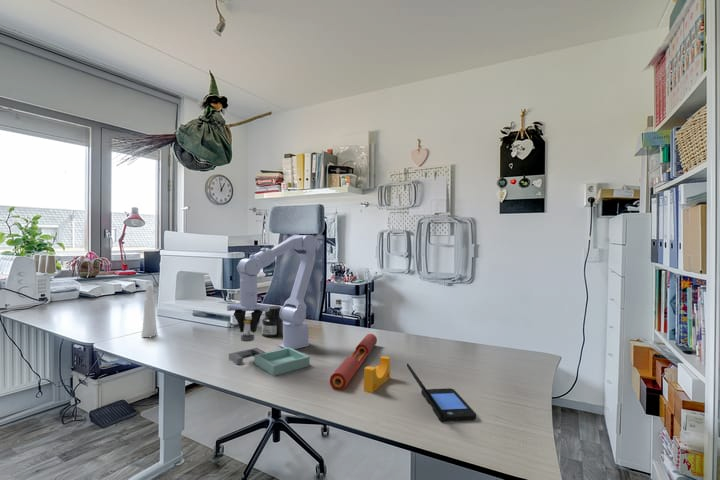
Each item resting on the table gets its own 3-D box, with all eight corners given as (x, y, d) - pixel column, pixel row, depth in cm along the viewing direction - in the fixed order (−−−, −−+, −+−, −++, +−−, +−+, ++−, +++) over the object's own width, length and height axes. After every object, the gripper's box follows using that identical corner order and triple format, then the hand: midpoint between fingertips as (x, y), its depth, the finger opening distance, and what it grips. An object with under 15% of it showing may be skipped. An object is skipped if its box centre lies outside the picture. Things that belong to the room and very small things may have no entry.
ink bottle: (257, 335, 151) (257, 307, 151) (272, 330, 158) (273, 304, 158) (272, 338, 145) (272, 310, 145) (287, 334, 152) (288, 307, 152)
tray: (289, 355, 125) (289, 347, 125) (309, 365, 115) (309, 356, 115) (254, 364, 116) (254, 355, 116) (273, 376, 106) (273, 366, 106)
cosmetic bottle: (158, 333, 152) (158, 283, 152) (156, 336, 146) (157, 285, 146) (142, 334, 149) (142, 283, 149) (139, 338, 144) (140, 285, 144)
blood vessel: (346, 391, 97) (346, 373, 97) (329, 389, 98) (329, 371, 98) (377, 346, 137) (377, 334, 137) (364, 345, 138) (364, 333, 138)
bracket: (256, 352, 128) (256, 347, 128) (265, 357, 122) (265, 352, 122) (228, 358, 121) (228, 353, 121) (236, 364, 115) (237, 359, 115)
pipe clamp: (377, 375, 108) (377, 354, 108) (390, 378, 106) (390, 357, 106) (358, 389, 97) (358, 367, 97) (372, 393, 95) (372, 370, 95)
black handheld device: (478, 422, 81) (478, 383, 81) (421, 425, 80) (422, 385, 79) (453, 392, 96) (453, 360, 96) (405, 394, 95) (405, 361, 95)
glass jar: (243, 337, 123) (244, 317, 123) (256, 338, 123) (256, 318, 123) (238, 341, 119) (239, 320, 119) (251, 341, 119) (252, 321, 119)
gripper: (223, 294, 117) (223, 334, 117) (265, 294, 117) (264, 335, 117) (232, 291, 124) (231, 328, 125) (271, 291, 124) (271, 329, 124)
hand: (248, 331), depth 121 cm, fingers closed on glass jar, 4 cm apart
